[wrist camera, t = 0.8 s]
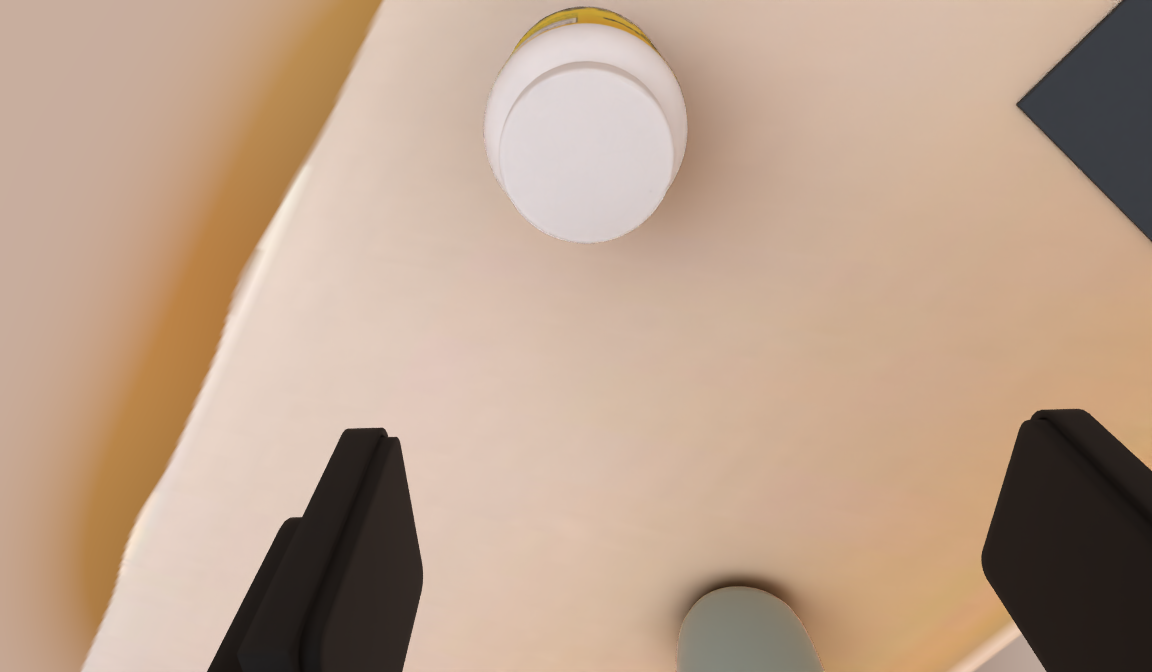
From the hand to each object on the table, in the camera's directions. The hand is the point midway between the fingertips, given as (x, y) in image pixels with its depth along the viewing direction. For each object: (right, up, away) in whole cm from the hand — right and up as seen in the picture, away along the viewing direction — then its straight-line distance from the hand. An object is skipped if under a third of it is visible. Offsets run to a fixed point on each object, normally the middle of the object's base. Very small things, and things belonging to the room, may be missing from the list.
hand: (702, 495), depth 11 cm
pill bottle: (-2, +12, +18) cm, 22 cm away
